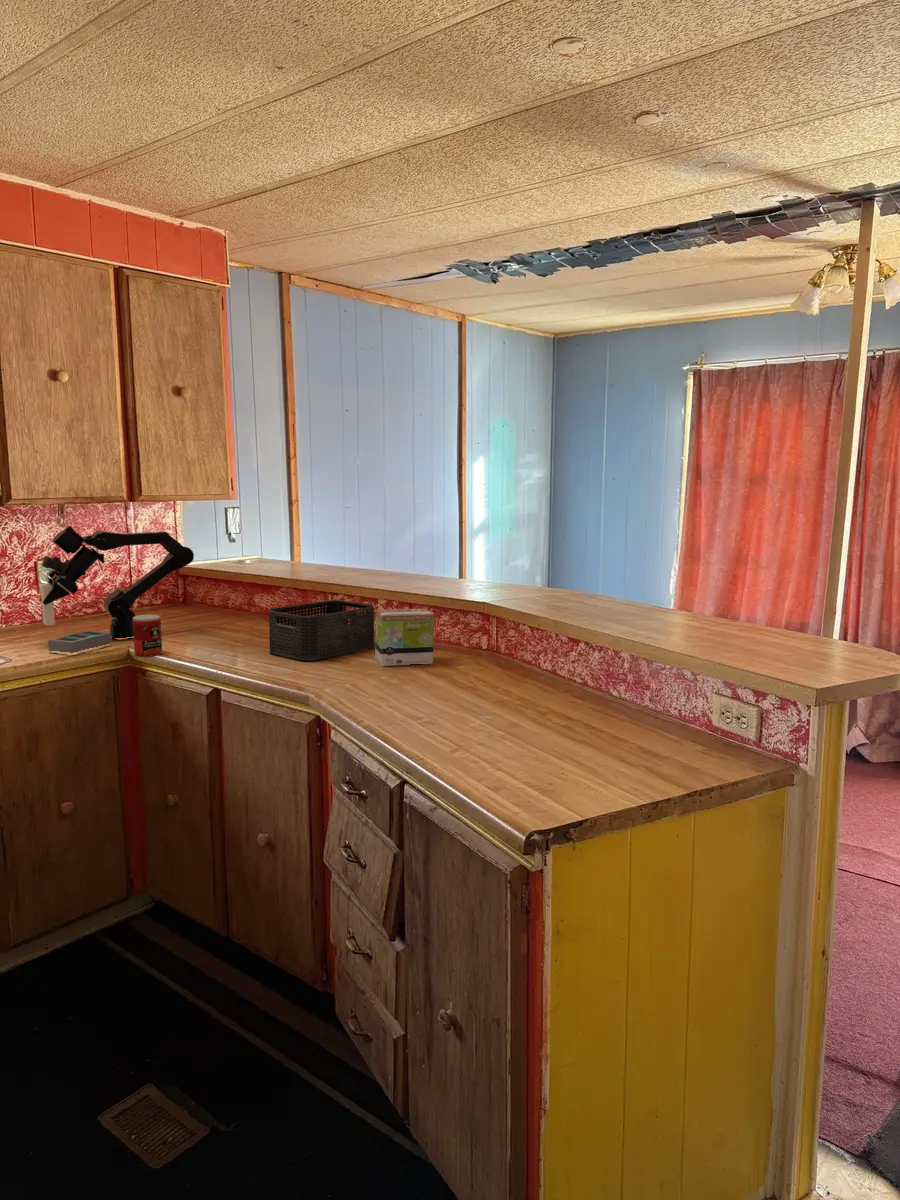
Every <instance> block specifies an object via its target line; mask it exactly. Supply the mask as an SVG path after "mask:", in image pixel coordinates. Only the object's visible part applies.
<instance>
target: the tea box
mask: <svg viewBox="0 0 900 1200" xmlns="http://www.w3.org/2000/svg"><path fill="white" fill-rule="evenodd" d="M434 645H435V614H434V613H433V612H431V611H430V610H429V609H428V608H393V609H389V608H388V609H375V641H374V648H375V649H374V650H375V652H374V654H375V655H374V657H375V660H376V661H377V663H378V664H379V665H380V666H381V667H389V666H393V667H394V666H411V665H410V664H421V663H431V662H433V663H434V654H435V653H434V652H435V651H434V650H435V646H434Z"/></svg>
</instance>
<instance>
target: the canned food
mask: <svg viewBox="0 0 900 1200" xmlns="http://www.w3.org/2000/svg"><path fill="white" fill-rule="evenodd" d="M133 635H134V639H133V647H134V648H133V649H134V654H135V655H136V656H137V657H155V656H158V655H157V654H158V653H160V652H161V653H162V651H163V643H162V622H161V615H158V614H140V615H135V617H133Z"/></svg>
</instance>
